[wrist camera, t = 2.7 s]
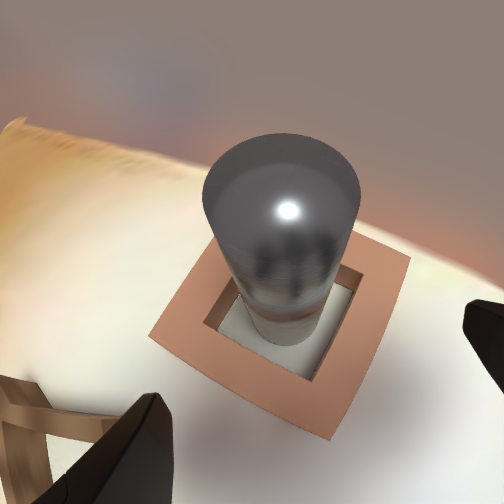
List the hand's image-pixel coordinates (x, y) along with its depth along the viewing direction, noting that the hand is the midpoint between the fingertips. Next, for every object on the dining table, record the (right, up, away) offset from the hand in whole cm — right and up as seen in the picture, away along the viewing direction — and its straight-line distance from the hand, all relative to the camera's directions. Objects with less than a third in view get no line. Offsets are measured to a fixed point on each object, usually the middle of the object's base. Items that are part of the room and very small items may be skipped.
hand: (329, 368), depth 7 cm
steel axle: (0, -1, +12) cm, 13 cm away
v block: (-18, -12, +9) cm, 23 cm away
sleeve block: (0, -1, +12) cm, 13 cm away
